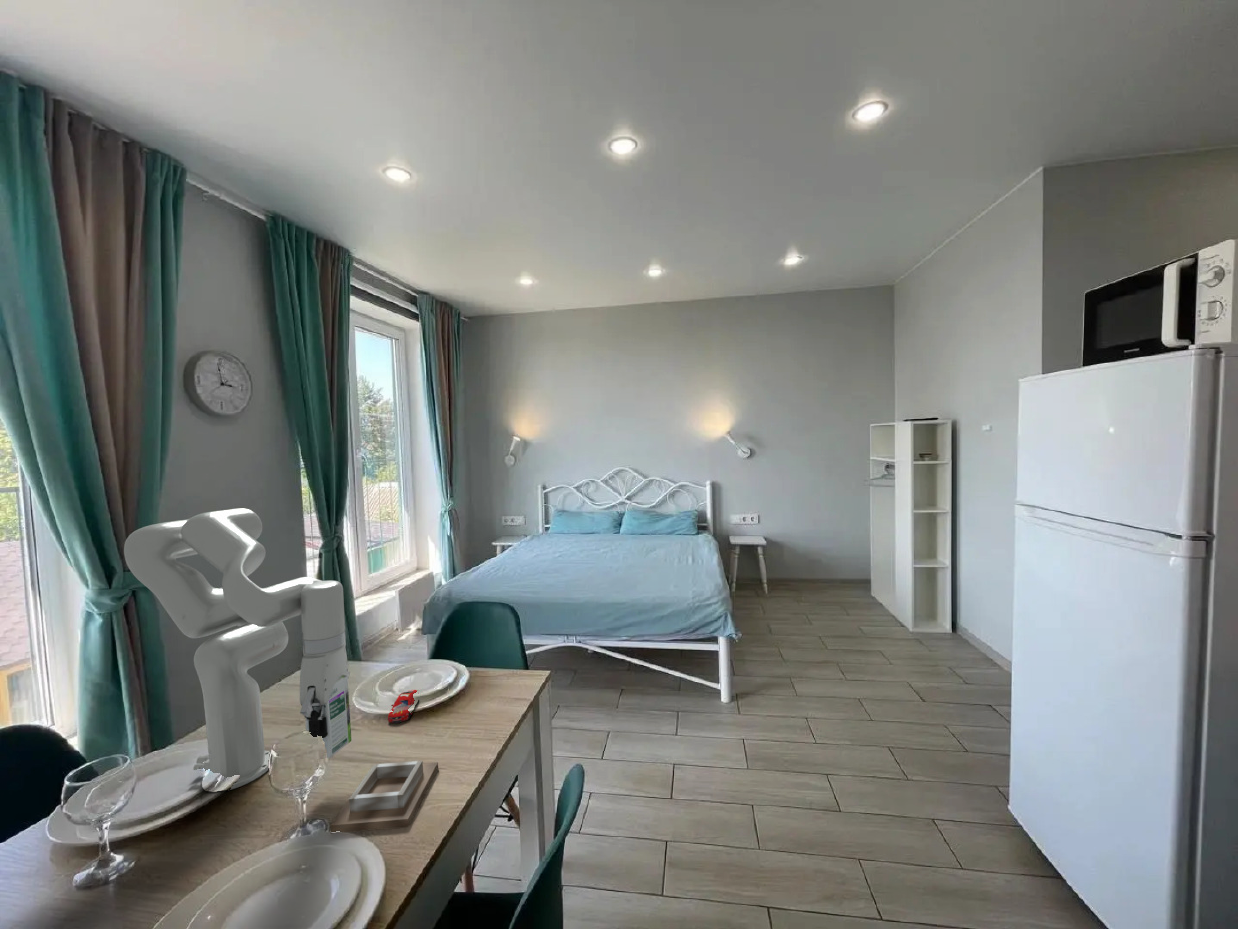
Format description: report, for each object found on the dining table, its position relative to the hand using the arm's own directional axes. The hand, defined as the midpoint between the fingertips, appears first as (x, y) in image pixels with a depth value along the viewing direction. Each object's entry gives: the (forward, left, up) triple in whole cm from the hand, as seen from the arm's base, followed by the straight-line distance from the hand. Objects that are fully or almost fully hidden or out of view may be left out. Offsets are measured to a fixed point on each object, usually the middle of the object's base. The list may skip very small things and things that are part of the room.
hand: (328, 726), depth 100 cm
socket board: (+14, -5, -13) cm, 20 cm away
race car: (+3, +29, -13) cm, 32 cm away
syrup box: (0, 0, -5) cm, 5 cm away
